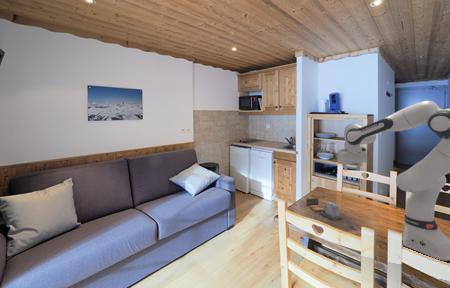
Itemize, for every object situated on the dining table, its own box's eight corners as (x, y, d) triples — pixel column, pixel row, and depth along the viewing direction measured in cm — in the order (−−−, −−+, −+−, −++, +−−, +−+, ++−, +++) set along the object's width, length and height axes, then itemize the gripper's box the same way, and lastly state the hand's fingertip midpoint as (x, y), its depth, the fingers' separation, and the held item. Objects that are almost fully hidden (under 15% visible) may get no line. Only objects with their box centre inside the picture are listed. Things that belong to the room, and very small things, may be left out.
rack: (327, 211, 155) (327, 202, 155) (316, 212, 153) (316, 204, 153) (317, 205, 167) (317, 197, 167) (306, 207, 165) (306, 198, 165)
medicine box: (338, 218, 143) (338, 205, 143) (332, 219, 142) (332, 205, 142) (330, 213, 151) (330, 201, 150) (324, 214, 150) (324, 202, 149)
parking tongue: (341, 219, 141) (341, 217, 141) (331, 220, 140) (331, 218, 140) (328, 212, 153) (328, 210, 153) (319, 213, 152) (319, 211, 151)
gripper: (341, 149, 138) (342, 171, 138) (369, 148, 142) (369, 169, 143) (334, 149, 144) (335, 170, 144) (360, 148, 148) (361, 168, 149)
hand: (352, 170), depth 143 cm, fingers open, 8 cm apart
